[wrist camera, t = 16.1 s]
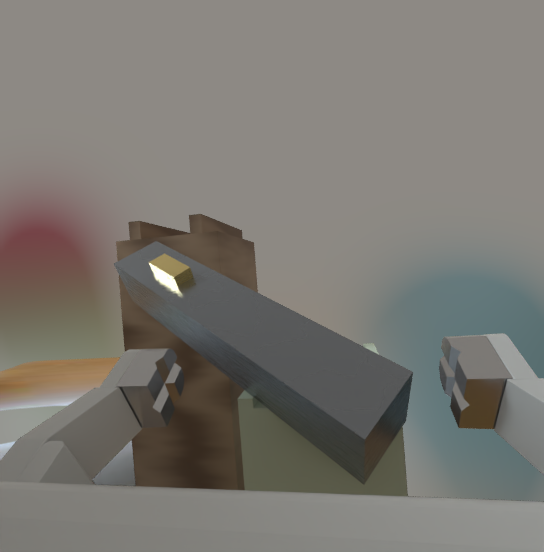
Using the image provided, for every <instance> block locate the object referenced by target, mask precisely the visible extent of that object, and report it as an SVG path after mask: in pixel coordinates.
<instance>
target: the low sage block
mask: <svg viewBox="0 0 544 552" xmlns="http://www.w3.org/2000/svg"><path fill="white" fill-rule="evenodd" d="M364 347H365V348H367V349H369V350H371V351H373V352H375V353H377V354H379V353H378V352H377V349H376V347H375V345H374V343H370V344H364ZM238 411H239V424H240V436H241V449H242V462H243V475H244V488H245V490H249V491H276V492H302V493H329V494H356V495H384V496H408V494H407V481H406V467H405V454H404V441H403V428H401V429H400V431H399V432H398V434H397V435H396V437H395V438H394V440H393V441H392V443H391V444H390V446H389V448H388V449H387V451H386V452H385V454H384V455H383V457H382V458H381V460H380V461H379V463H378V464H377V466H376V467H375V469H374V470H373V472H372V473H371V475H370V477H369V478H368V480H367V481H366V483H365V484H364V485H363V484H362V483H361V482H360V481H358V480H357V479H356V478H355V477H353V476H352V475H351V474H350V473H348V472H347V471H346V470H345V469H343V468H342V467H341V466H340V465H338V464H337V463H336V462H334V461H333V460H332V459H331V458H329V457H328V456H327V455H326V454H324V453H323V452H322V451H321V450H319V449H318V448H317V447H316V446H314V445H313V444H312V443H311V442H309V441H308V440H307V439H306V438H304V437H303V436H302V435H300V434H299V433H298V432H297V431H295V430H294V429H293V428H292V427H290V426H289V425H288V424H287V423H285V422H284V421H283V420H282V419H280V418H279V417H278V416H277V415H275V414H274V413H273V412H272V411H270V410H269V409H268V408H267V407H265V406H264V405H263V404H261V403H260V402H259V401H258V400H256V399H255V398H254V397H253V396H251V395H250V394H249V393H248V392H246V391H245V390H244V391H243V392H242V394H241V395H240V396H239V398H238Z"/></svg>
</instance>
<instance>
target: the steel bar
mask: <svg viewBox="0 0 544 552" xmlns="http://www.w3.org/2000/svg"><path fill="white" fill-rule="evenodd" d="M114 266H115V267H116V269H117V271H118V273H119V275H120V277H121V279H122V281H123V283H124V285H125V287H126V289H127V291H128V293H129V295H130V297H131V299H132V301H133V302H134V303H136V304H137V305H138V306H139V307H141V308H142V309H143V310H144V311H146V312H147V313H148V314H149V315H151V316H152V317H153V318H154V319H156V320H157V321H158V322H160V323H161V324H162V325H163V326H165V327H166V328H167V329H168V330H170V331H171V332H172V333H173V334H175V335H176V336H177V337H178V338H180V339H181V340H182V341H183V342H185V343H186V344H187V345H188V346H190V347H191V348H192V349H194V350H195V351H196V352H197V353H199V354H200V355H201V356H202V357H204V358H205V359H206V360H207V361H209V362H210V363H211V364H212V365H214V366H215V367H216V368H217V369H219V370H220V371H221V372H222V373H224V374H225V375H226V376H227V377H229V378H230V379H231V380H233V381H234V382H235V383H236V384H238V385H239V386H240V387H241V388H243V389H244V390H245V391H246V392H248V393H249V394H250V395H251V396H253V397H254V398H255V399H256V400H258V401H259V402H260V403H261V404H263V405H264V406H265V407H267V408H268V409H269V410H270V411H272V412H273V413H274V414H275V415H277V416H278V417H279V418H280V419H282V420H283V421H284V422H285V423H287V424H288V425H289V426H290V427H292V428H293V429H294V430H295V431H297V432H298V433H299V434H300V435H302V436H303V437H304V438H306V439H307V440H308V441H309V442H311V443H312V444H313V445H314V446H316V447H317V448H318V449H319V450H321V451H322V452H323V453H324V454H326V455H327V456H328V457H329V458H331V459H332V460H333V461H334V462H336V463H337V464H338V465H340V466H341V467H342V468H343V469H345V470H346V471H347V472H348V473H350V474H351V475H352V476H353V477H355V478H356V479H357V480H358V481H360V482H361V483H362V484H363V485H364V484H365V483H366V481H367V480H368V478H369V477H370V475H371V473H372V472H373V470H374V469H375V467H376V466H377V464H378V463H379V461H380V460H381V458H382V457H383V455H384V454H385V452H386V451H387V449H388V448H389V446H390V444H391V443H392V441H393V440H394V438H395V437H396V435H397V434H398V432H399V431H400V429H401V428H402V426H403V425H404V423H405V421H406V417H407V410H408V403H409V396H410V389H411V382H412V375H413V372H412V371H410V370H408V369H406V368H404V367H402V366H400V365H398V364H396V363H394V362H392V361H390V360H388V359H386V358H384V357H382V356H380V355H379V354H377V353H375V352H373V351H371V350H369V349H367V348H365V347H363V346H361V345H359V344H357V343H355V342H353V341H351V340H349V339H347V338H345V337H343V336H341V335H339V334H337V333H335V332H333V331H332V330H329V329H328V328H326V327H324V326H322V325H320V324H318V323H316V322H314V321H312V320H310V319H308V318H306V317H304V316H302V315H300V314H298V313H296V312H294V311H292V310H290V309H289V308H286V307H285V306H283V305H281V304H279V303H277V302H275V301H273V300H271V299H269V298H267V297H265V296H263V295H261V294H259V293H257V292H255V291H253V290H251V289H249V288H247V287H245V286H243V285H242V284H240V283H238V282H236V281H234V280H232V279H230V278H228V277H226V276H224V275H222V274H220V273H218V272H216V271H214V270H212V269H210V268H208V267H206V266H204V265H202V264H200V263H198V262H197V261H195V260H193V259H191V258H189V257H187V256H185V255H183V254H181V253H179V252H177V251H175V250H173V249H171V248H169V247H167V246H165V245H163V244H161V243H159V242H157V241H155V242H153V243H152V244H150V245H148V246H146V247H144V248H142V249H140V250H138V251H137V252H135V253H133V254H131V255H129V256H127V257H125V258H123V259H121V260H120V261H118V262H116V263H114Z"/></svg>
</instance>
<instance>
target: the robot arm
mask: <svg viewBox="0 0 544 552" xmlns="http://www.w3.org/2000/svg"><path fill="white" fill-rule="evenodd" d="M441 348H442V350H443V353H444V356H443V357H442V358H441V359H440V366H439V370H440V379H441V383H442V386H443V389H444V391H445V394H447V395H448V396H450V397H451V405H450V407H451V410H452V412H453V415H454V417H455V420H456V422H457V424H458V427H459V428H476V429H495V430H494V431H495V432H496V433H498V434H499V435H500V436H501V437H502V438H503V439H505V441H506V442H508V443H509V444H510V445H511V446H512V447H513V448H514V449H515V450H516V451H518V452H519V453H520V454H521V455H522V456H523V457H524V458H525V459H526V460H528V461H529V462H530V463H531V464H532V465H533V466H534V467H535V468H536V469H537V470H539V471H540V472H541V473H542V474H543V475H544V379H538V377H537V376H536V375H535V373H534V372H533V371H532V369H531V368H530V366H529V365H528V364H527V362H526V361H525V359H524V358H523V357H522V355H521V354H520V352H519V351H518V350H517V348H516V347H515V346H514V344H513V343H512V341H511V340H510V339H509V337H508V336H507V335H505V334H504V333H503V334H486V335H472V336H453V337H444V338H443V340H442V346H441ZM176 359H177V356H176V354H175V352H174V350H173V349H129V350H127V351H125V352H124V353H123V355H122V356H121V358H120V359H119V360H118V362H117V363H116V365H115V366H114V368H113V369H112V370H111V372H110V373H109V375H108V376H107V378H106V379H105V380H104V382H103V383H102V385H101V386H100V387H99V388H94V389H92V390H91V391H89V392H88V393H86V394H85V395H83V396H82V397H80V398H79V399H77V400H76V401H74V402H73V403H71V404H70V405H68V406H67V407H66V408H64V409H62V410H61V411H59V412H58V413H57V414H55V415H53V416H52V417H51V418H49V419H47V420H46V421H44V422H43V423H42V424H40V425H38V426H37V427H35V428H34V429H32V430H31V431H30V432H28V433H27V434H25V435H24V436H22V437H21V438H19V439H18V440H17V441H16V442H15V444H14V445H13V446H12V447H11V448H10V450H9V451H8V452H7V453H6V455H5V456H4V457H3V458H2V459H1V461H0V552H544V501H543V502H542V501H518V500H491V499H463V498H437V497H409V496H384V495H356V494H329V493H302V492H276V491H249V490H223V489H197V488H171V487H144V486H118V485H95V484H94V482H93V481H92V479H93V478H94V477H95V476H96V475H97V474H98V473H99V472H100V471H101V470H102V469H103V468H104V467H105V466H106V465H107V464H108V463H109V462H110V461H111V460H112V459H113V458H114V457H115V456H116V455H117V454H118V453H119V452H120V451H121V450H122V449H123V448H124V447H125V446H126V445H127V444H128V443H129V442H130V441H131V440H132V439H133V438H134V437H135V436H136V435H137V434H138V433H139V432H140V431H141V430H142V428H153V427H167V426H168V424H169V422H170V419H171V417H172V415H173V412H174V410H175V407H174V404H173V403H174V402H175V401H176V400H177V399H178V398H179V397H180V396H181V394H182V391H183V387H184V374H183V371H182V368H181V367H180V366H178V365H177V364H176V363H175V361H176Z"/></svg>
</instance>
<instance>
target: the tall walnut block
mask: <svg viewBox="0 0 544 552" xmlns="http://www.w3.org/2000/svg"><path fill="white" fill-rule="evenodd" d="M189 220H190V233H187V232H183V231H179V230H175V229H171V228H166V227H162V226H158V225H154V224H149V223H146V222H142V221H135V222H129V231H130V240H127V241H117V242H116V246H117V258H118V261H120V260H121V259H123V258H125V257H127V256H129V255H131V254H133V253H135V252H137V251H138V250H140V249H142V248H144V247H146V246H148V245H150V244H152V243H153V242H155V241H157V242H159V243H161V244H163V245H165V246H167V247H169V248H171V249H173V250H175V251H177V252H179V253H181V254H183V255H185V256H187V257H189V258H191V259H193V260H195V261H197V262H198V263H200V264H202V265H204V266H206V267H208V268H210V269H212V270H214V271H216V272H218V273H220V274H222V275H224V276H226V277H228V278H230V279H232V280H234V281H236V282H238V283H240V284H242V285H243V286H245V287H247V288H249V289H251V290H253V291H255V292H257V293H258V290H257V278H256V265H255V251H254V243H253V242H251V241H248V240H244V239H242V230H239V229H237V228H234V227H232V226H229V225H227V224H225V223H222V222H220V221H217V220H215V219H212V218H210V217H207V216H205V215H202V214H197V215H189ZM119 283H120V295H121V309H122V321H123V334H124V346H125V351H127V350H129V349H173V350H174V352H175V354H176V356H177V359H176V361H175V363H176V364H177V365H178V366H180V367H181V368H182V371H183V374H184V387H183V391H182V394H181V396H180V397H179V398H178V399H177V400H176V401H175V402H174V403H173V404H174V407H175V410H174V412H173V415H172V417H171V419H170V422H169V424H168V426H167V427H153V428H142V430H141V431H140V432H139V433H138V434H137V435H136V436H135V437H134V438H133V439H132V447H133V459H134V472H135V484H136V486H144V487H171V488H197V489H223V490H245V488H244V475H243V462H242V449H241V436H240V424H239V411H238V398H239V396H240V395H241V394H242V392H243V391H244V389H243V388H241V387H240V386H239V385H238V384H236V383H235V382H234V381H233V380H231V379H230V378H229V377H227V376H226V375H225V374H224V373H222V372H221V371H220V370H219V369H217V368H216V367H215V366H214V365H212V364H211V363H210V362H209V361H207V360H206V359H205V358H204V357H202V356H201V355H200V354H199V353H197V352H196V351H195V350H194V349H192V348H191V347H190V346H188V345H187V344H186V343H185V342H183V341H182V340H181V339H180V338H178V337H177V336H176V335H175V334H173V333H172V332H171V331H170V330H168V329H167V328H166V327H165V326H163V325H162V324H161V323H160V322H158V321H157V320H156V319H154V318H153V317H152V316H151V315H149V314H148V313H147V312H146V311H144V310H143V309H142V308H141V307H139V306H138V305H137V304H136V303H134V302H133V301H132V299H131V297H130V295H129V293H128V291H127V289H126V287H125V285H124V283H123V281H122V279H121V277H120V275H119Z"/></svg>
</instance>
